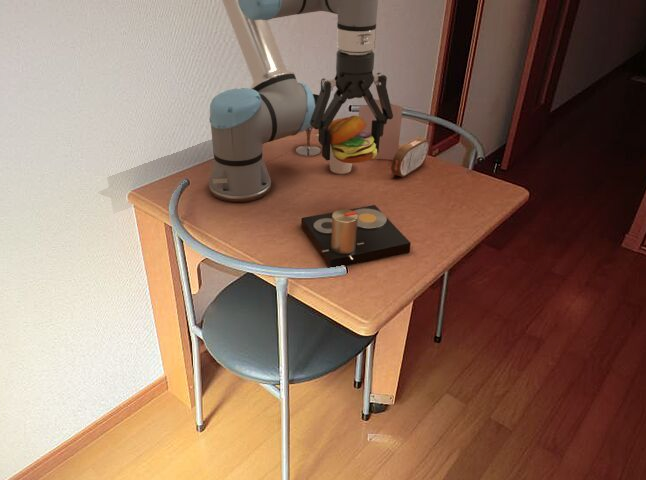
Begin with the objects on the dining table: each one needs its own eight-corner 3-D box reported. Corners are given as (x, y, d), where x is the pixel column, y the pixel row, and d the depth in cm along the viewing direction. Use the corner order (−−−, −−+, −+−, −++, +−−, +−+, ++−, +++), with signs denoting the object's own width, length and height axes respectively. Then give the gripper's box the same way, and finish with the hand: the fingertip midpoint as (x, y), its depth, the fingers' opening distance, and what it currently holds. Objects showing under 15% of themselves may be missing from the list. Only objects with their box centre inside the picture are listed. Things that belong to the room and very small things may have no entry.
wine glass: (327, 149, 158) (329, 97, 150) (312, 158, 153) (313, 105, 144) (304, 142, 162) (304, 91, 153) (288, 151, 156) (288, 99, 148)
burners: (307, 219, 121) (307, 218, 121) (376, 207, 126) (376, 205, 126) (321, 239, 115) (321, 237, 115) (393, 225, 120) (393, 223, 120)
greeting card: (398, 159, 154) (404, 106, 145) (383, 167, 149) (388, 113, 141) (366, 147, 160) (369, 96, 151) (350, 155, 155) (353, 102, 147)
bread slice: (418, 160, 154) (422, 131, 149) (428, 163, 152) (432, 134, 147) (388, 178, 144) (391, 148, 139) (398, 182, 142) (402, 152, 137)
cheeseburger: (375, 167, 117) (367, 123, 112) (327, 174, 120) (316, 130, 115) (380, 148, 125) (372, 105, 120) (334, 154, 128) (325, 113, 123)
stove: (298, 227, 123) (298, 217, 122) (373, 214, 129) (374, 204, 127) (330, 274, 109) (330, 263, 108) (413, 256, 115) (414, 246, 113)
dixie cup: (361, 166, 150) (363, 131, 144) (347, 178, 143) (350, 142, 138) (333, 159, 153) (334, 125, 147) (319, 171, 147) (320, 135, 141)
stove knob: (336, 256, 110) (338, 222, 105) (327, 243, 114) (328, 210, 109) (359, 251, 111) (362, 218, 107) (349, 238, 115) (351, 206, 111)
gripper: (306, 60, 103) (306, 168, 115) (416, 50, 110) (405, 153, 122) (293, 50, 108) (294, 155, 121) (398, 41, 116) (389, 140, 128)
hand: (350, 154), depth 122 cm, fingers closed on cheeseburger, 11 cm apart
